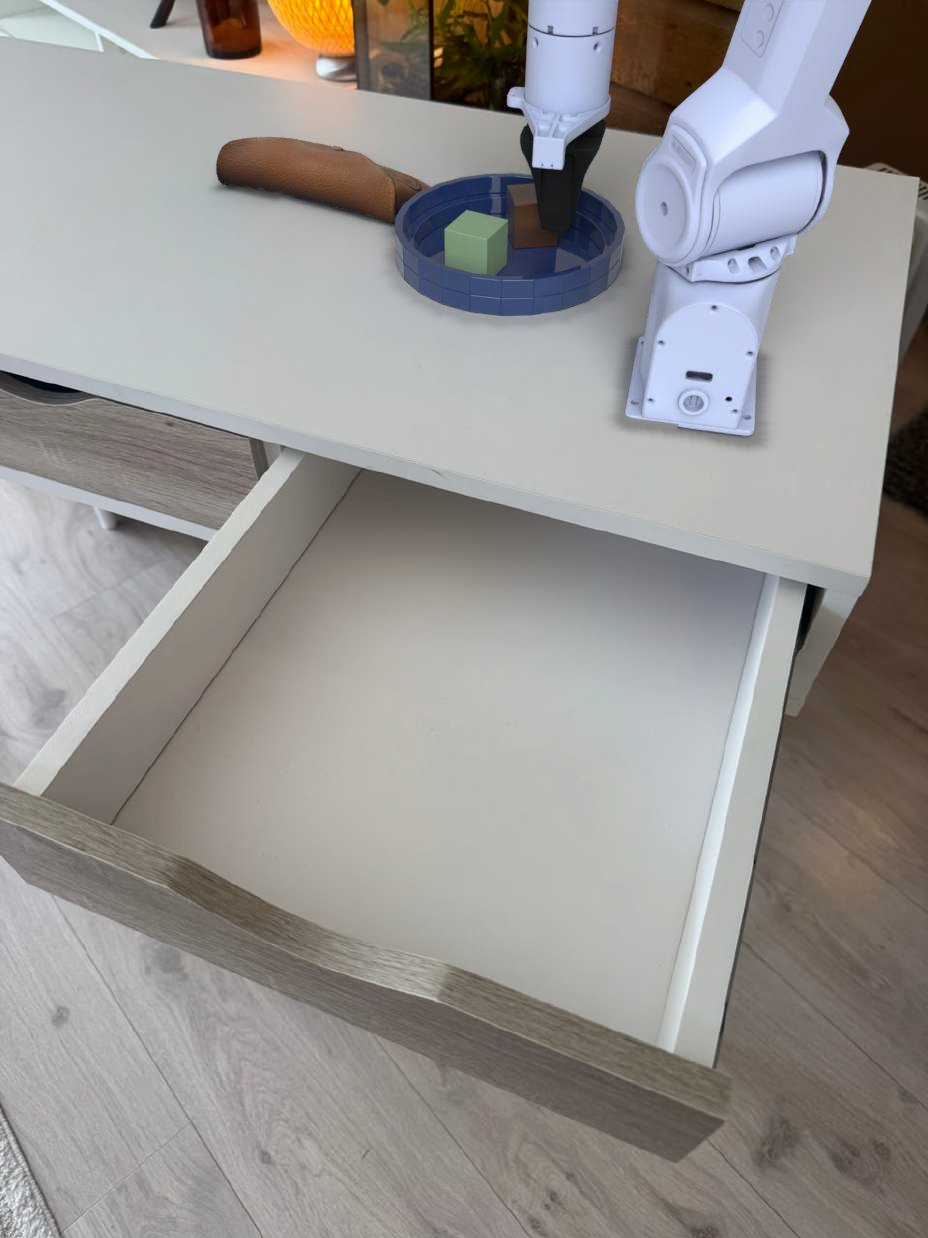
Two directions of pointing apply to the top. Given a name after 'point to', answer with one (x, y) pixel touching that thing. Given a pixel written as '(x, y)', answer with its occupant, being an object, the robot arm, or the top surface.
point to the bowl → (530, 273)
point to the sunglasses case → (317, 174)
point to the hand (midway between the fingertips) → (556, 227)
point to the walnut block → (526, 219)
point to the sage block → (476, 243)
